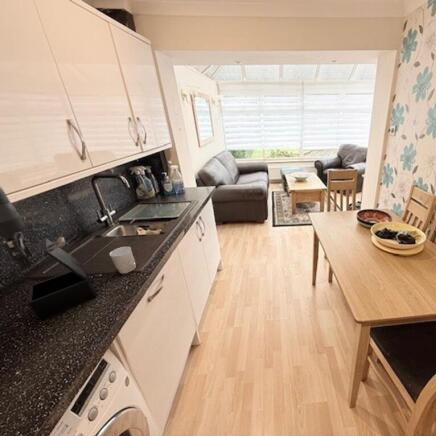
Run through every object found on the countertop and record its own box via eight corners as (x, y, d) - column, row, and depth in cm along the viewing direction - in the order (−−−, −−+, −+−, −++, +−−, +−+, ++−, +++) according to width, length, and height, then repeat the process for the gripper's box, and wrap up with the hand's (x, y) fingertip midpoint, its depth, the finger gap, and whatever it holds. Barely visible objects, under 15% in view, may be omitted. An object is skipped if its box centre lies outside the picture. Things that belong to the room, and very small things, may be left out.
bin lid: (43, 252, 78) (59, 242, 80) (43, 239, 87) (58, 230, 89) (85, 280, 88) (98, 270, 91) (81, 266, 97) (93, 257, 99)
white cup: (139, 269, 109) (132, 250, 104) (119, 277, 104) (111, 258, 99) (135, 262, 114) (128, 244, 109) (116, 269, 109) (107, 251, 105)
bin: (41, 322, 83) (28, 303, 79) (41, 303, 91) (29, 285, 88) (96, 298, 93) (86, 280, 89) (91, 283, 101) (83, 266, 97)
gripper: (-15, 215, 75) (13, 258, 82) (-22, 229, 66) (9, 276, 73) (19, 208, 80) (42, 249, 87) (16, 220, 70) (42, 265, 77)
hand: (27, 261), depth 80 cm, fingers open, 8 cm apart
